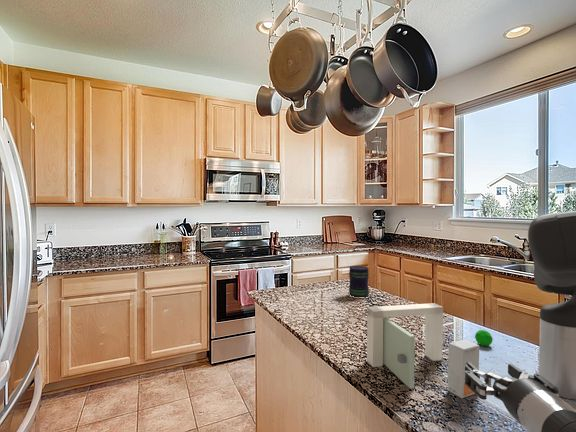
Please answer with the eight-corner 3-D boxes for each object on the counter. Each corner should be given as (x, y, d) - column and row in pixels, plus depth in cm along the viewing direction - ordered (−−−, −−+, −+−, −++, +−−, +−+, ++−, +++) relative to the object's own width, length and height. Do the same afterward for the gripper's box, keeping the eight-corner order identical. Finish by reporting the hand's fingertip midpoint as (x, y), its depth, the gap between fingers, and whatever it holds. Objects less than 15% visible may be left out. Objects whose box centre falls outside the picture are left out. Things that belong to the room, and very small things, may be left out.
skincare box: (462, 399, 78) (463, 349, 78) (446, 390, 82) (447, 342, 81) (479, 393, 80) (480, 345, 80) (463, 384, 84) (464, 338, 84)
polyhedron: (471, 342, 111) (471, 328, 111) (483, 341, 112) (483, 327, 112) (483, 349, 106) (484, 334, 106) (496, 347, 107) (496, 332, 107)
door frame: (433, 354, 102) (434, 303, 101) (442, 360, 98) (443, 306, 98) (366, 360, 97) (367, 307, 97) (373, 367, 93) (373, 311, 93)
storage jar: (366, 300, 162) (366, 269, 161) (346, 297, 166) (347, 268, 166) (370, 295, 171) (370, 266, 170) (351, 293, 175) (351, 265, 175)
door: (414, 387, 82) (415, 336, 82) (403, 389, 81) (404, 337, 81) (383, 359, 97) (384, 316, 97) (374, 360, 96) (375, 316, 96)
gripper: (590, 393, 53) (523, 351, 69) (498, 389, 54) (454, 348, 70) (589, 440, 53) (523, 386, 69) (497, 435, 54) (453, 383, 70)
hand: (488, 367), depth 69 cm, fingers open, 8 cm apart
